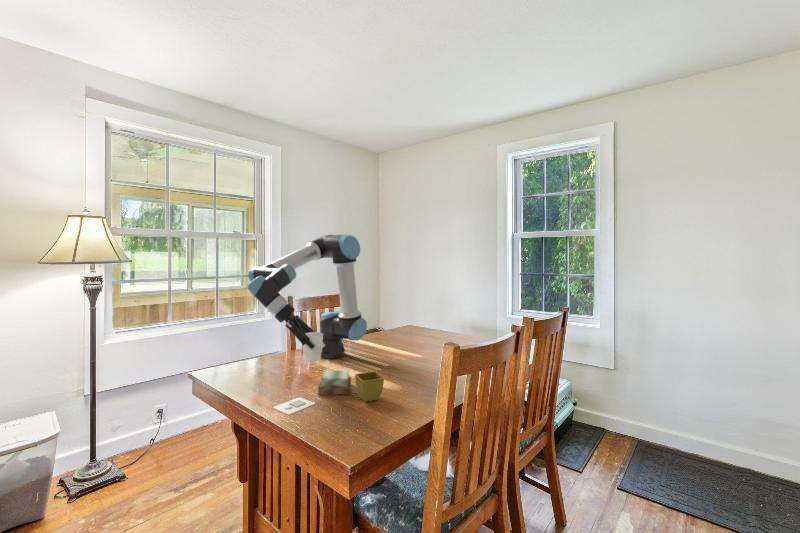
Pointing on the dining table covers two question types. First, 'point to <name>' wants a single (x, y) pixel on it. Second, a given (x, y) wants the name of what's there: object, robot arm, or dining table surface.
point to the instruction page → (293, 405)
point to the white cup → (308, 353)
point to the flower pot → (369, 385)
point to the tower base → (334, 389)
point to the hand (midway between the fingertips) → (321, 350)
